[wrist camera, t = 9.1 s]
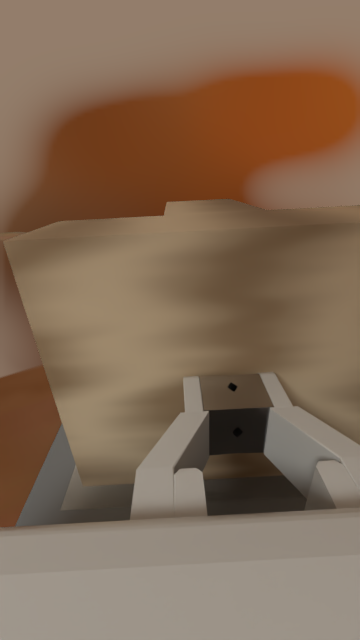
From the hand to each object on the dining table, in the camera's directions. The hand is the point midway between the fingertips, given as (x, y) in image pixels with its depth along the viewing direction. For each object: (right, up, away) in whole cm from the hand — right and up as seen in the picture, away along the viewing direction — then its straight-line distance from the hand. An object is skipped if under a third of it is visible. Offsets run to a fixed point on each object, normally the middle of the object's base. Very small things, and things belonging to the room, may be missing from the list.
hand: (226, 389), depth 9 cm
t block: (0, -2, +8) cm, 8 cm away
